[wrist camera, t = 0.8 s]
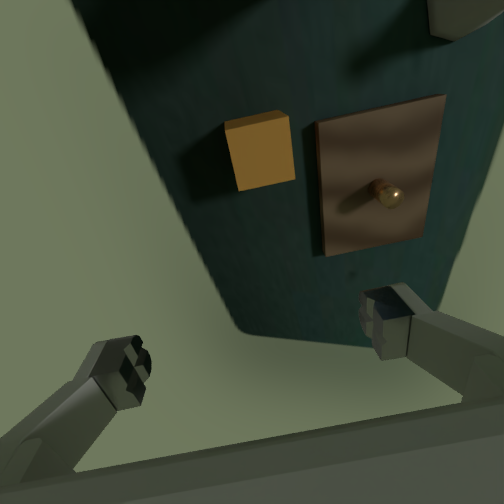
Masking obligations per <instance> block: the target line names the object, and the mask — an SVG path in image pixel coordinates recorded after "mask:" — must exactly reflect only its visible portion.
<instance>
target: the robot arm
mask: <svg viewBox="0 0 504 504" xmlns="http://www.w3.org/2000/svg"><path fill="white" fill-rule="evenodd" d="M359 301H360V303H361V304H362V306H361V308H360V309H359V319H360V323H361V326H362V328H363V331H364V332H365V334H366V336H368V337H370V338H372V346H373V348H374V349H375V351H376V353H377V354H378V356H379V358H380V359H381V360H382V361H383V360H389V359H396V358H402V357H407V358H408V359H409V360H411V361H412V362H414V363H415V364H417V365H418V366H420V367H421V368H423V369H424V370H426V371H427V372H429V373H430V374H432V375H433V376H435V377H436V378H438V379H439V380H440V381H442V382H444V383H445V384H446V385H448V386H449V387H451V388H452V389H454V390H455V391H457V392H458V393H460V394H461V395H463V397H462V401H461V403H457V404H451V405H446V406H440V407H435V408H430V409H424V410H418V411H413V412H407V413H402V414H396V415H391V416H385V417H380V418H374V419H369V420H363V421H358V422H353V423H348V424H342V425H336V426H331V427H325V428H320V429H315V430H309V431H304V432H298V433H292V434H287V435H282V436H276V437H271V438H265V439H260V440H254V441H248V442H243V443H237V444H232V445H227V446H221V447H215V448H210V449H204V450H199V451H193V452H188V453H182V454H177V455H171V456H166V457H160V458H155V459H149V460H144V461H138V462H133V463H127V464H122V465H116V466H111V467H106V468H100V469H94V470H88V471H83V472H77V473H76V472H75V471H74V470H73V468H74V467H75V466H76V464H77V463H78V462H79V461H80V459H81V458H82V456H83V455H84V454H85V453H86V451H87V450H88V449H89V448H90V446H91V445H92V444H93V443H94V441H95V440H96V439H97V437H98V436H99V435H100V433H101V432H102V431H103V430H104V428H105V427H106V426H107V425H108V423H109V422H110V421H111V420H112V418H113V417H114V416H115V414H116V413H117V411H119V410H124V409H129V408H133V407H137V406H141V403H142V400H143V397H144V393H145V390H146V387H145V385H144V382H145V381H146V380H147V379H148V378H149V377H150V373H151V358H150V355H149V353H148V351H147V350H145V349H143V348H142V347H141V346H142V344H143V341H142V340H141V338H140V336H138V335H133V336H127V337H122V338H115V339H110V340H105V341H99V342H96V343H95V344H93V345H92V347H91V349H90V351H89V352H88V354H87V356H86V358H85V360H84V361H83V363H82V365H81V366H80V368H79V370H78V372H77V373H76V375H75V377H74V379H73V380H72V381H69V382H67V383H66V384H64V386H62V387H61V388H60V389H59V390H58V391H56V392H55V393H54V394H53V395H51V396H50V397H49V398H48V399H47V400H45V401H44V402H43V403H42V404H41V405H39V406H38V407H37V408H36V409H35V410H33V411H32V412H31V413H30V414H29V415H28V416H26V417H25V418H24V419H23V420H22V421H21V422H19V423H18V424H17V425H16V426H14V427H13V428H12V429H11V430H10V431H9V432H7V433H6V434H5V435H4V436H3V437H1V438H0V504H504V337H503V336H501V335H499V334H496V333H493V332H491V331H488V330H486V329H483V328H480V327H478V326H475V325H473V324H470V323H467V322H465V321H462V320H460V319H457V318H455V317H452V316H450V315H447V314H444V313H442V312H439V311H435V312H433V311H432V310H431V309H430V308H429V307H428V306H427V305H426V304H425V303H424V302H423V301H422V300H421V299H420V298H419V297H418V296H417V295H416V294H415V293H414V292H413V291H412V290H411V289H410V288H409V287H408V286H407V285H406V284H405V283H403V282H401V283H397V284H392V285H388V286H384V287H379V288H374V289H369V290H364V291H360V293H359Z"/></svg>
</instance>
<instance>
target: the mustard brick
mask: <svg viewBox="0 0 504 504" xmlns="http://www.w3.org/2000/svg"><path fill="white" fill-rule="evenodd" d="M225 133H226V137H227V142H228V146H229V151H230V155H231V159H232V164H233V168H234V172H235V177H236V181H237V186H238V190H239V191H243V190H247V189H252V188H256V187H261V186H266V185H270V184H275V183H279V182H284V181H289V180H293V179H295V172H294V162H293V153H292V144H291V135H290V125H289V116H287V115H286V114H284V113H282V112H281V111H279V110H274V111H270V112H265V113H261V114H257V115H252V116H248V117H243V118H239V119H234V120H230V121H225Z"/></svg>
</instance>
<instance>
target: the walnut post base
mask: <svg viewBox="0 0 504 504" xmlns="http://www.w3.org/2000/svg"><path fill="white" fill-rule="evenodd" d="M445 100H446V95H445V94H435V95H430V96H426V97H421V98H417V99H412V100H408V101H403V102H399V103H394V104H390V105H385V106H381V107H376V108H372V109H368V110H363V111H359V112H354V113H350V114H345V115H341V116H336V117H332V118H327V119H323V120H318V121H315V135H316V151H317V168H318V184H319V200H320V216H321V232H322V249H323V253H324V255H325V256H326V257H328V256H332V255H337V254H342V253H347V252H352V251H356V250H361V249H366V248H371V247H376V246H380V245H385V244H390V243H395V242H400V241H404V240H409V239H414V238H419V237H422V236H423V230H424V224H425V219H426V213H427V207H428V201H429V195H430V189H431V183H432V177H433V171H434V165H435V160H436V154H437V148H438V142H439V136H440V130H441V124H442V118H443V112H444V106H445Z"/></svg>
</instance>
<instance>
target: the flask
mask: <svg viewBox="0 0 504 504" xmlns="http://www.w3.org/2000/svg"><path fill="white" fill-rule="evenodd" d="M427 6H428V16H429V26H430V35H433V36H436V37H440V38H444V39H447V40H451V41H454V42H455V41H457V40H458V39H460V38H462V37H464V36H466V35H468V34H470V33H471V32H473V31H475V30H477V29H479V28H481V27H483V26H484V25H486V24H487V23H489V22H490V21H491V20H493V19H494V18H495V17H497V16H498V15H499V14H501V13H502V12H503V11H504V0H427Z"/></svg>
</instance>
